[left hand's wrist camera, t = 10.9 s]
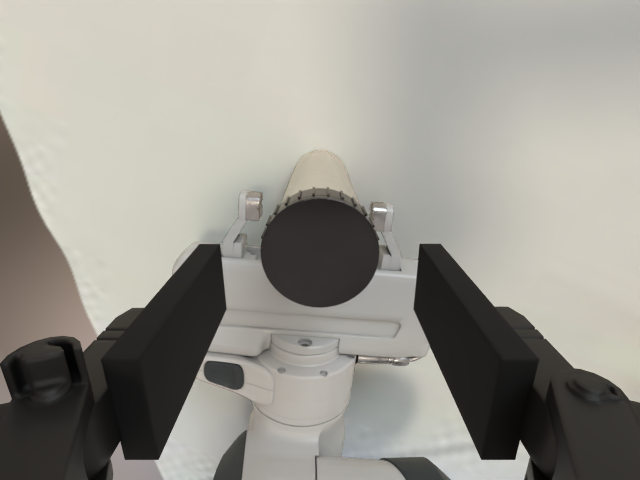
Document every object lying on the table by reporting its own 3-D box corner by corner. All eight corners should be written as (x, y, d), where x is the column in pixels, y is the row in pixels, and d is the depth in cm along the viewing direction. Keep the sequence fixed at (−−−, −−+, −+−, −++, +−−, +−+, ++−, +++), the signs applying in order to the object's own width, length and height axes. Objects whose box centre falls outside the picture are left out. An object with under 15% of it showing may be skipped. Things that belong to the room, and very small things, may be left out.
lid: (250, 269, 18) (242, 286, 17) (286, 168, 17) (283, 176, 15) (348, 304, 19) (351, 324, 17) (393, 210, 17) (401, 222, 16)
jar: (285, 192, 33) (252, 279, 17) (304, 141, 32) (287, 183, 15) (334, 211, 34) (348, 312, 17) (355, 162, 32) (391, 223, 16)
